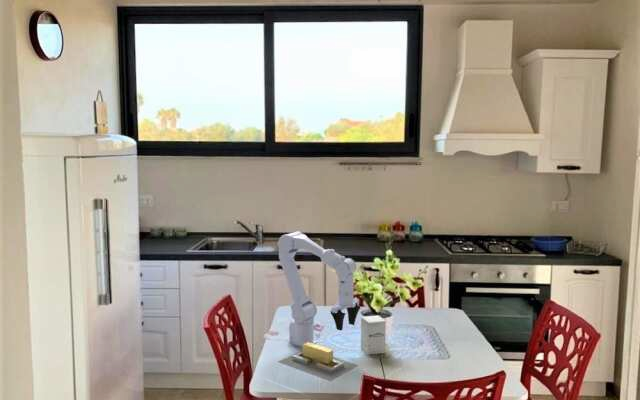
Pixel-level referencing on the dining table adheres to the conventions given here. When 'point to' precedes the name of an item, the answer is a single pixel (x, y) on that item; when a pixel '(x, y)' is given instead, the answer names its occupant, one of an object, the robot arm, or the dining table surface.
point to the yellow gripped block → (318, 354)
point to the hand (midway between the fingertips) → (345, 326)
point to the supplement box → (373, 334)
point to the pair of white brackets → (336, 364)
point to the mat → (312, 369)
